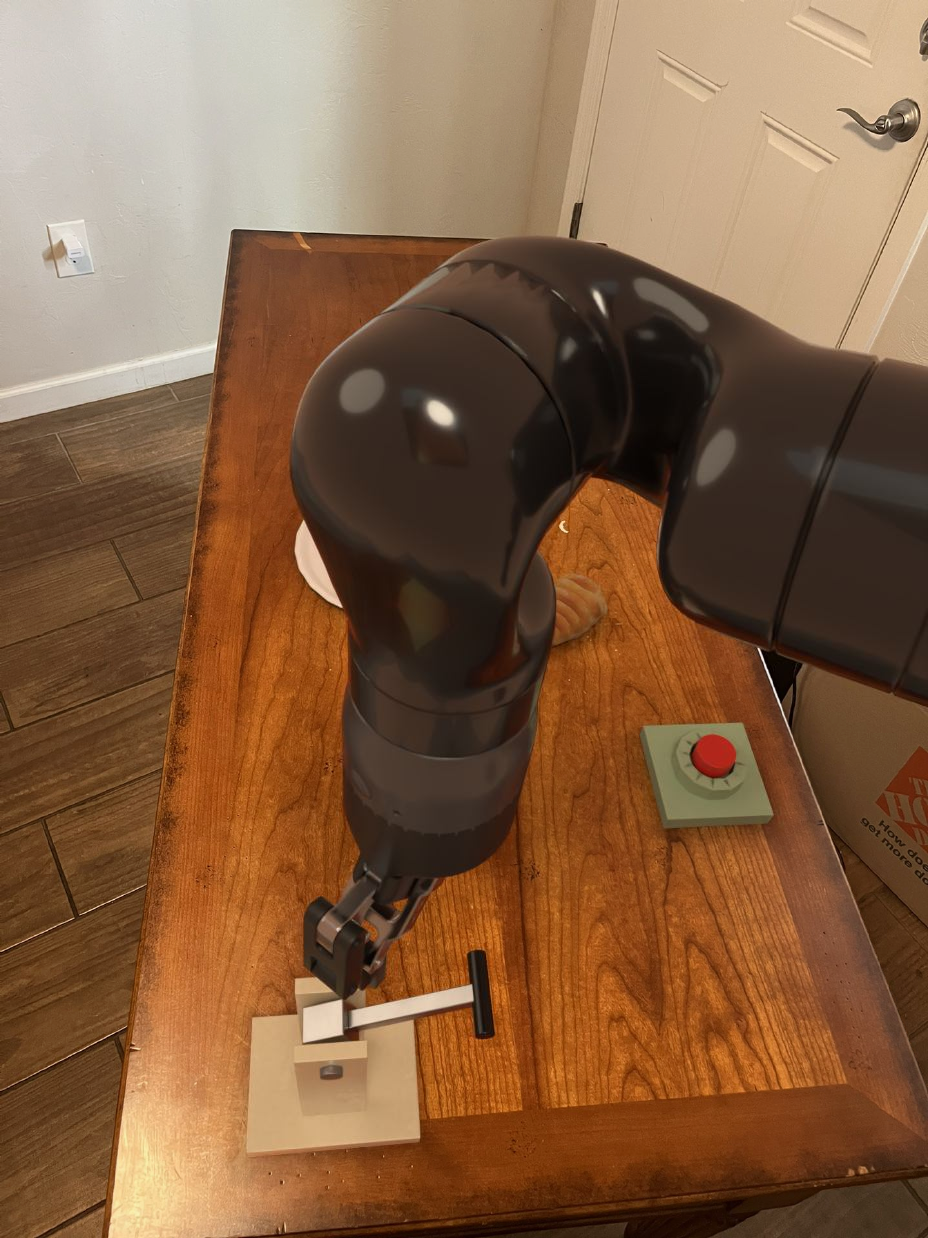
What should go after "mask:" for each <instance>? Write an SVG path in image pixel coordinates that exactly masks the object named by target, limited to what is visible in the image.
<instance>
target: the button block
mask: <svg viewBox="0 0 928 1238" xmlns="http://www.w3.org/2000/svg"><path fill="white" fill-rule="evenodd" d="M710 734H715V735H719V736H722V737H724V738H726V739H727V740H729V741H730V742H731V743H732V745H733V746H734V748H735V750H736V760H735V762H734V764H733V765H732V767H731V769H730V770H729V772H728V773H727V774H726V775H724V776H722V777H718V778H713V777H709V776H706V775H704V774H702V773H701V772H700V771H699V770H698V769H697V768H696V767H695V765H694V763H693V760H692V754H693V751H694V749H695V747H696V745H697V743H698V741H699V740H700V739H701V738H702V737H704V736H706V735H710ZM639 740H640V743H641V747H642V751H643V755H644V759H645V763H646V767H647V772H648V775H649V779H650V782H651V786H652V790H653V795H654V799H655V802H656V807H657V811H658V814H659V815H658V816H659V820H660V822H661V827H662V829H680V828H681V829H682V828H702V827H723V826H724V827H725V826H741V825H742V826H745V825H746V826H747V825H748V826H749V825H768V824H769V822H770V821H771V820H772V818H773V817H774V816H775V814H774V811H773V809H772V805H771V801H770V799H769V797H768V794H767V790H766V788H765V785H764V781H763V777H762V775H761V772H760V770H759V767H758V764H757V761H756V758H755V755H754V751H753V749H752V746H751V744H750V743H751V742H750V740H749V737H748V734H747V731H746V727H745V725H744V723H743V722H719V723H716V722H715V723H713V722H712V723H684V724H651V725H643V726H642V728H641V730H640V733H639Z"/></svg>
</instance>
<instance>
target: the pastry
mask: <svg viewBox="0 0 928 1238" xmlns="http://www.w3.org/2000/svg"><path fill="white" fill-rule="evenodd" d="M553 581H554V585H555V590H556V596H557V603H556V627H555V633H554V638H553V643H552V647H555V646H558V645H562V644H563V643H565V642H568V641H573V640H576V639H578V638H580V637H581V636H582V635H584V634H585V633H586V632H588V631H589V630H590V629H591V628H592V627H593V626H595V624H597V623H598V621H599V620H600V619H601V618H602V617H604V616H605V615H606V614H607V613H608V605H607V603H606V598H605V597H604V595H603V593H602V589H601V588H600V587H599V585H598V584H597V583H595V582H594V581H593V580H592V579H591V578H589V577H588V576H586V575H582V574H578V573H575V572H571V573H570V572H569V573H564V574H563V575H562V576H561V577H559V578H557V579H555V580H553Z"/></svg>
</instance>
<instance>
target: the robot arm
mask: <svg viewBox="0 0 928 1238" xmlns="http://www.w3.org/2000/svg"><path fill="white" fill-rule="evenodd" d="M289 442H290V443H289V444H290V445H289V457H288V464H289V478H290V483H291V488H292V492H293V493H292V494H293V496H294V499H295V502H296V505H297V508H298V511H299V513H300V514H301V517H302V520H304V521H305V524H306V526H307V528H308V530H309V532H310V534H311V537H312V539H313V541H314V543H315V545H316V548H317V550H318V552H319V554H320V557H321V559H322V561H323V563H324V565H325V568H326V570H327V573H328V576H329V578H330V581H331V583H332V586H333V588H334V590H335V592H336V594H337V596H338V599H339V601H340V603H341V605H342V608H343V609H342V610H343V612H344V614H345V616H346V619H347V628H346V629H347V630H346V632H347V634H346V635H347V640H346V641H347V681H346V684H345V688H344V694H343V700H342V708H341V744H342V745H341V746H342V747H341V750H342V751H341V754H342V756H341V757H342V759H341V760H342V799H343V810H344V815H345V819H346V822H347V826H348V828H349V830H350V833H351V835H352V837H353V839H354V841H355V843H356V847H357V848H358V850H359V855H358V858H357V860H356V862H355V865H354V867H353V870H352V873H351V875H350V877H349V879H348V881H347V883H346V885H345V887H344V888H343V890H342V893H341V898H340V899H339V900H338V902H336V904H335V903H333V902H332V901H331V900H328V899H326V898H325V897H324V896H323V895H320V896H318V897H317V898H315V899H314V900H312V901H311V902H310V903H309V904H308V906H306V907H307V908H306V911H305V912H304V914H303V916H302V917H303V918H302V947H303V948H302V955H303V956H302V963H303V965H302V966H303V967H304V968H305V970H307V971H308V972H309V973H311V974H312V975H313V977H317V978H318V979H319V980H320V981H321V982H323V983H324V984H325V985H326V986H327V987H328V988H330V989H331V990H332V991H333V992H334V993H336V994H337V995H338V996H339V997H340V998H341V999H343V1000H346V999H347V998H349V997H350V996H352V995H353V994H354V993H355V992H356V991H357V989H359V990H361V991H364V990H365V989H366V990H367V988H368V987H369V988H371V989H372V990H375V991H376V990H377V989H378V988H379V987H380V985H381V984H382V983H383V982H384V981H385V979H386V974H387V973H386V970H387V956H388V952H389V950H390V948H391V946H392V945H393V942H397V941H398V940H400V939H401V938H402V937H403V936H404V935H406V934H408V933H409V932H410V931H412V930H413V928H414V926H415V924H416V922H417V920H418V918H419V917H420V914H421V913H422V911H423V909H424V907H425V905H426V903H427V901H428V900H429V898H430V896H431V894H432V893H433V892H434V891H436V890H437V889H438V888H440V887H441V886H442V885H443V883H444V882H445V880H446V878H450V877H455V876H458V875H461V874H465V873H467V872H469V871H471V870H473V869H475V868H477V867H479V866H480V865H482V864H483V863H485V862H486V861H487V860H489V859H490V858H491V857H492V856H493V855H494V854H496V853H497V851H499V849H500V848H501V847H502V845H503V844H504V843H505V841H506V839H507V838H508V836H509V834H510V832H511V830H512V827H513V824H514V821H515V817H516V813H517V811H518V806H519V802H520V799H521V795H522V791H523V788H524V784H525V780H526V777H527V772H528V768H529V765H530V761H531V757H532V754H533V750H534V746H535V740H536V737H537V731H538V722H539V721H538V720H539V701H540V700H539V699H540V695H541V692H542V688H543V684H544V680H545V675H546V672H547V669H548V664H549V661H550V657H551V652H552V647H553V646H552V643H553V638H554V633H555V627H556V603H557V596H556V590H555V585H554V581H555V580H554V577H553V574H552V572H551V569H550V568H549V566H548V563H547V561H546V559H545V557H544V556H543V555H542V553H541V552H540V550H539V548H540V546H541V544H542V542H543V540H544V538H545V537H546V535H547V534H548V532H549V531H550V530H551V529H552V527H553V526H554V525H555V524H556V523H557V521H558V520H559V518H560V517H561V515H562V514H564V512H565V511H566V510H567V508H568V507H569V506H570V505H571V503H572V502H573V501H574V500H575V498H576V497H577V495H579V493H580V492H581V491H582V489H584V487H585V485H586V484H587V483H589V481H590V479H597V480H602V481H607V482H609V483H613V484H616V485H618V486H620V487H623V488H625V489H627V490H628V491H630V492H632V493H634V494H635V495H638V496H639V497H640V498H642V499H644V500H645V501H647V502H648V503H650V504H652V505H653V506H654V507H656V508H658V509H659V510H660V512H661V513H660V518H659V521H658V527H657V534H656V546H655V549H656V553H655V555H656V568H657V575H658V579H659V582H660V585H661V588H662V590H663V592H664V594H665V596H666V597H667V599H668V600H669V602H670V603H671V604H672V606H674V607H675V609H676V610H677V611H678V612H680V614H682V615H684V616H685V617H687V618H688V619H689V620H691V621H693V622H694V623H697V624H699V625H700V626H703V627H704V628H707V629H708V630H711V631H712V632H713V631H714V632H716V633H718V634H719V635H723V636H725V637H728V638H730V639H733V640H735V641H737V642H740V643H743V644H746V645H748V646H752V647H754V648H757V649H759V650H763V651H765V652H768V653H770V652H772V651H775V653H776V654H777V655H778V656H781V657H784V658H786V659H789V660H792V661H794V662H798V663H800V664H803V665H806V666H809V667H812V668H815V669H816V670H817V669H818V670H821V671H823V672H827V673H828V674H829V673H830V674H831V675H835V676H837V677H841V678H843V679H846V680H848V681H852V682H854V683H858V684H860V685H863V686H866V687H869V688H873V689H874V690H876V691H877V690H878V691H880V692H883V693H886V694H893V696H894V697H896V698H898V699H899V698H900V699H902V700H905V701H908V702H911V703H914V704H917V705H920V706H923V707H926V708H928V366H927V365H923V364H918V363H915V362H909V361H904V360H900V359H896V358H891V357H884V358H882V359H881V360H880V359H879V357H878V355H877V354H874V353H868V352H864V351H856V350H850V349H845V348H837V347H831V346H825V345H820V344H816V343H813V342H810V341H808V340H804V339H802V338H800V337H798V336H796V335H794V334H792V333H790V332H789V331H786V330H785V329H783V328H781V327H779V326H777V325H776V324H773V323H772V322H770V321H769V320H767V319H766V318H764V317H762V316H760V315H759V314H757V313H755V312H753V311H751V310H749V309H747V308H745V307H744V306H743V305H741V304H738V303H736V302H734V301H731V300H729V299H728V298H726V297H723V296H721V295H719V294H717V293H714V292H712V291H710V290H708V289H705V288H703V287H701V286H699V285H697V284H694V282H690V281H688V280H686V279H684V278H682V277H679V276H678V275H675V274H673V273H671V272H668V271H667V270H664V269H662V268H660V267H659V266H656V265H654V264H651V263H649V262H647V261H645V260H643V259H640V258H638V257H635V256H633V255H631V254H629V253H626V252H622V251H620V250H618V249H615V248H613V247H609V246H605V245H603V244H599V243H596V242H592V241H587V240H582V239H577V238H572V237H562V236H557V235H556V236H555V235H540V234H539V235H537V234H534V235H532V234H531V235H529V234H528V235H526V234H525V235H523V234H522V235H511V236H502V237H497V238H493V239H488V240H485V241H481V242H478V243H477V244H474V245H472V246H469V247H467V248H465V249H463V250H461V251H459V252H458V253H456V254H454V255H453V256H451V257H450V258H448V259H446V261H444V262H443V263H442V264H440V265H439V266H437V268H435V269H433V271H431V272H430V273H428V275H427V276H425V277H424V278H423V279H422V280H420V281H419V282H418V283H416V284H415V285H414V286H413V287H411V288H410V289H409V290H407V291H406V292H405V293H404V294H403V295H401V296H400V297H399V298H397V299H396V300H395V301H394V302H392V303H391V304H390V305H389V306H388V307H386V308H385V309H384V310H383V311H382V312H380V313H378V314H377V315H376V316H375V317H374V318H372V319H370V320H369V321H368V322H366V323H365V324H363V325H362V326H361V327H359V328H358V329H357V330H356V331H355V332H353V333H351V335H350V336H349V335H348V336H347V337H346V339H344V340H343V341H342V342H341V343H339V344H338V345H337V346H336V347H335V348H334V349H333V350H331V351H330V352H329V353H328V354H327V356H325V357H324V359H323V360H322V361H321V362H320V364H319V365H318V366H317V367H316V369H315V370H314V372H313V374H312V375H311V376H310V378H309V381H308V382H307V384H306V386H305V387H304V390H303V392H302V395H301V397H300V400H299V403H298V406H297V410H296V413H295V417H294V421H293V426H292V431H291V436H290V441H289ZM404 900H406V902H405V904H404V906H403V907H402V910H399V908H397V907H396V906H395V905H393V904H395V903H398V902H402V901H404ZM364 921H366V922H367V923H368V924H369V925H371V926H372V927H373V928H374V929H375V930H376V932H377V936H376V938H375V940H374V941H373V940H372V939H371V937H372V933H371V932H369V931H368V930H367V929H366V928H364V926H362V924H363V922H364Z"/></svg>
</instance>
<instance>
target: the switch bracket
mask: <svg viewBox="0 0 928 1238" xmlns="http://www.w3.org/2000/svg"><path fill="white" fill-rule="evenodd" d="M366 992H367V988H366V989H365V990H364V991H361V990H359V989H357V991H356V992H355V993H354V994H353V995H352V996H350V997H349V998H347V999H346V1000H345V1001H347V1002H348V1003H350V1004H352V1005H353V1006H355V1007H356V1008H358V1009H359V1008H363V1007H366V1001H367V999H366V996H367V995H366V994H367V993H366ZM294 997H295V1006H296V1013H297V1014H296V1013H295V1014H284V1015H283V1014H281V1015H268V1016H253V1017H252V1019H251V1034H250V1035H251V1036H250V1059H249V1063H250V1064H249V1078H248V1079H249V1080H248V1099H247V1122H246V1123H247V1124H246V1125H247V1126H246V1145H245V1154H246V1156H247V1157H248V1158H253V1157H254V1158H255V1157H256V1158H257V1157H266V1156H277V1155H278V1156H279V1155H287V1154H288V1155H291V1154H299V1153H300V1154H301V1153H313V1152H322V1151H324V1152H325V1151H334V1150H335V1151H336V1150H346V1149H357V1148H369V1147H379V1146H380V1147H381V1146H390V1145H402V1144H404V1145H405V1144H413V1143H420V1141H421V1123H420V1104H419V1089H418V1087H419V1086H418V1072H417V1071H418V1070H417V1069H418V1068H417V1054H416V1053H417V1051H416V1037H415V1035H416V1034H415V1020H410V1021H406V1022H401V1023H396V1024H392V1025H387V1026H382V1027H378V1028H373V1029H368V1030H363V1031H359V1041H350V1042H336V1043H322V1044H308V1045H304V1044H303V1043H302V1041H303V1008H304V1007H308V1006H313V1005H317V1004H322V1003H326V1002H331V1001H335V1000H340V999H341V998H340V997H339V996H338V995H337V994H336V993H334V992H333V991H332V990H331V989H330V988H328V987H327V986H326V985H325V984H324V983H323V982H321V981H320V980H319V979H318V978H317V977H315V976H313V977H312V976H310V977H297V978H295V979H294Z"/></svg>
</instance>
